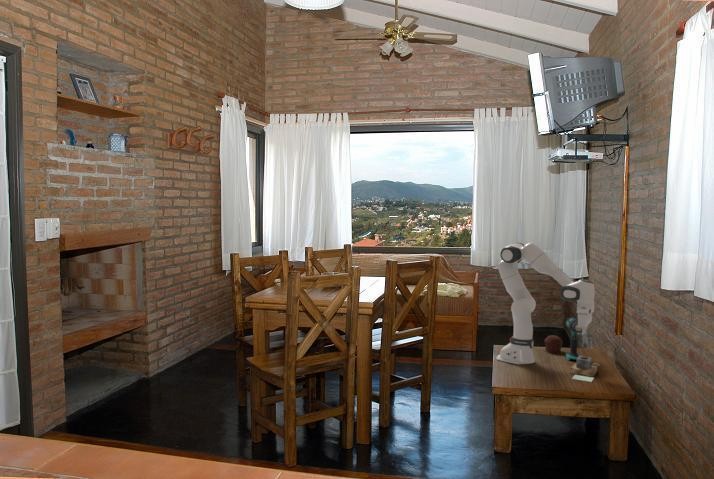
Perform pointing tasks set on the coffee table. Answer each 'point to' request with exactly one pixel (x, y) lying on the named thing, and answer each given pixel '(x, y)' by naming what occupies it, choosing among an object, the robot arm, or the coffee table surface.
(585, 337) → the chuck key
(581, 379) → the mat
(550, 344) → the muffin
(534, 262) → the robot arm
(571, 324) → the power drill
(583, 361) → the block
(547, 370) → the coffee table surface
